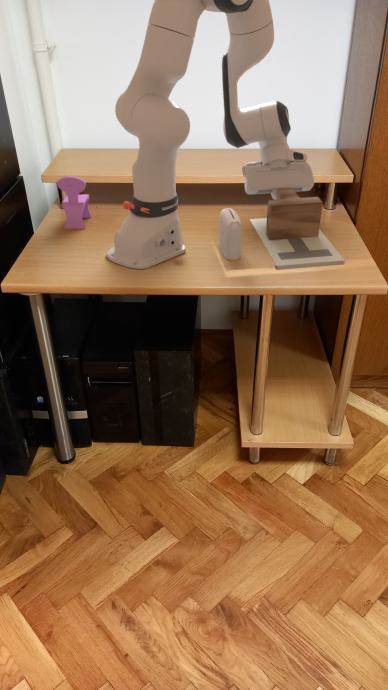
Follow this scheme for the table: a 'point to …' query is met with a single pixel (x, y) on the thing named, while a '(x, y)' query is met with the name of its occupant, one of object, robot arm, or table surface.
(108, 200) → the table surface
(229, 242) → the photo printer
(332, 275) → the table surface
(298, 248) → the board
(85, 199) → the toy chair
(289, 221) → the t block
